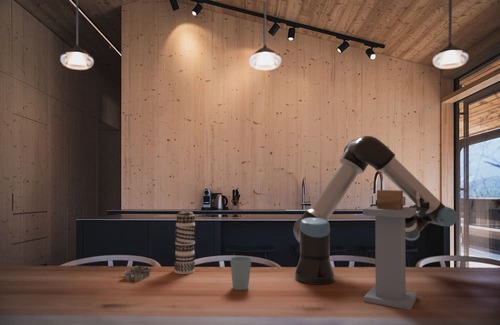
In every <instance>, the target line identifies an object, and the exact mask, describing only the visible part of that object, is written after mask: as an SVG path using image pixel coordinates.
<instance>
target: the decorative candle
mask: <svg viewBox="0 0 500 325" xmlns="http://www.w3.org/2000/svg"><path fill="white" fill-rule="evenodd" d="M175 216H176V222H175V225H174V226H173V227H174V229H175V230H174V237H175V239H174V244H175V251H174V252H175V254H174V257H175V258H174V261H175V262H174V263H173V264H174V267H173V269H174V273H175V274H177V275H178V274H179V275H189V274H192V273H195V268H196V267H195V265H196V262H195V259H196V258H195V257H196V253H195V244H196V240H197V239H196V236H197V235H196V234H195V233H196V232H197V229H196V228H197V225H196V222H195V218H196V215H195V214H194V212H193V211H191V210H188V211H187V210H183V211H182V210H181V211H179V212H177V214H176V215H175Z"/></svg>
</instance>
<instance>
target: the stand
mask: <svg viewBox="0 0 500 325" xmlns="http://www.w3.org/2000/svg"><path fill="white" fill-rule="evenodd" d="M415 214H417V210H416V208H407V206H405V207H404V206H403V209H400V210H394V209H377V206H375V205H372V206H369V207H365V208H362V216H373V217H374V218H375V221H374V222H375V227H374V228H375V232H374V233H375V234H374V235H375V285H373V286H371V289H369V290H368V292H366V294H365V295H364V296H363V302H366V303H369V304H377V305H381V306H386V307H387V306H388V307H392V308H398V309H403V310H408V311H412V309H413V306H414V304H415V302H416V300H417V298H418V296H417V295H418V293H417V292H413V291H407V290H406V289H407V287H406V278H407V276H406V275H407V274H406V269H407V268H406V239H405V218H410V217H412V216H414V215H415Z"/></svg>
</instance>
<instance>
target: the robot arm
mask: <svg viewBox="0 0 500 325" xmlns="http://www.w3.org/2000/svg"><path fill="white" fill-rule="evenodd" d="M339 161H340V164H339V165H338V167H337V168H336V170H335V172H334V174H332V176H331V178H330V180H329V181H328V182H327V184H326V185H325V187H324V189H323V190H322V191H321V193H320V195H318V198H317V199H316V201H315V202H314V203H313V205H312V207H311V208H310V209H306V210H305V211H304V213H303V215H302V216H301V217H300V218H299V219H297V220H296V221H295V223H294V225H293V229H292V230H293V232H292V233H293V236H294V239H295V240H296V241H297V242H298V243H299V260H298V263H297V266H296V269H295V272H294V274H295V276H294V278H295V280H297V281H298V282H300V283H304V284H310V285H328V284H331V283H333V282H334V281H335V274H334V273H335V272H334V271H333V270H334V269H333V267H332V263H331V260H330V258H331V256H330V253H331V252H330V251H331V250H330V248H331V246H330V245H331V244H330V243H331V242H330V240H331V238H330V237H331V234H330V233H331V228H330V223H329V219H330V217H331V216H332V214H333V213H334V212H335V210H336V208H337V207H338V205H340V202H341V201H342V199H343V198H344V196H345V195H346V193H347V191H348V190H349V188H350V187H351V185H352V184H353V182H354V180H355V179H356V177H358V175H361V174H363V173H364V172H365V171H366V169H367V168H368V166H371V167H372V168H373V169H374V170H375V171H376V172H381V173H382V174H383V175H384V176H385V177H386V178H388V180H389V181H390V182H392V183H393V184H394V186H396V187H397V188H398V189H399V190H400V191H403V195H405V196H407V197H408V198H409V200H411V201H412V202H413V205H410V206H408V207H407V206H406V207H407V208H416V210H417V214H415V215H414V216H412V217H410V218H405V240H407V241H416V240H418V238H420V236H421V231H423V229H424V228H425V227H426V226H427V225H428V224H434V225H437V226H441V227H451V226H454V225H455V224H456V223H457V221H458V213H457V212H456V210H455V209H454V208H452V207H450V206H446V205H445V204H444V203H443V202H442V201H440V200H439V199H438V198H437V197H436V196H435V195H434V194H433V193H432V192H431V191H430V190H429V189H428V188H427V187H426V186H425V185H424V184H423V183H421V182H420V181H419V180H418V178H417V177H416V176H414V175H413V174H412V173H411V172H410V171H409V170H408V169H407V168H406V167H405V166H404V165H403V164H402V163H401V162H400V161H399V160H398V159H397V158H396V154H395V153H394V152H393V151H392V150H391V149H390V148H389V147H388V146H387V145H385V143H383V142H382V141H381V140H380V139H378V138H376V137H374V136H372V135H364V136H361V137H358V138H354V139H352V140H350V141H349V142H348V143H347V144H346V145H345V146H344V148H343V152H342V155H341V156H340V158H339ZM374 204H375V205H374V206H377V199H376V200H375V203H374Z"/></svg>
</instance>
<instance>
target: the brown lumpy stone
mask: <svg viewBox="0 0 500 325" xmlns="http://www.w3.org/2000/svg"><path fill="white" fill-rule="evenodd" d="M151 271H152V268H151V267H150V268H149V267H148V266H146V267H145V266H140V265H137V264H136V265H135V266H134V267H132V268H130V269H128V270H124V272H123V274H124V276H125V277H124V280H125V281H127V282H129V281H134V282H141V281H143V279H147V277H150V276H151Z"/></svg>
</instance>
